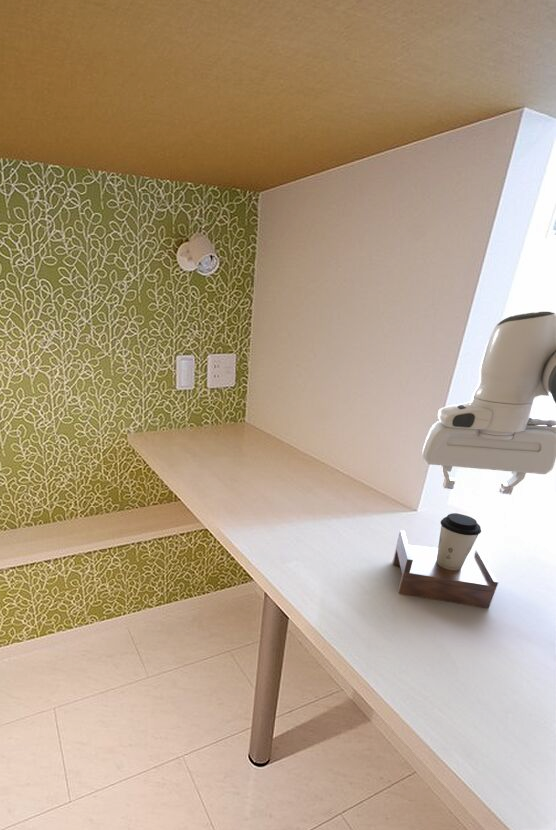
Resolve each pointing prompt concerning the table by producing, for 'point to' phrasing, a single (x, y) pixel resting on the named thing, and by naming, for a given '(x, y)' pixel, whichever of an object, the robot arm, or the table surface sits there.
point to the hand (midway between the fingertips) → (475, 490)
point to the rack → (443, 576)
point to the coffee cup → (456, 540)
